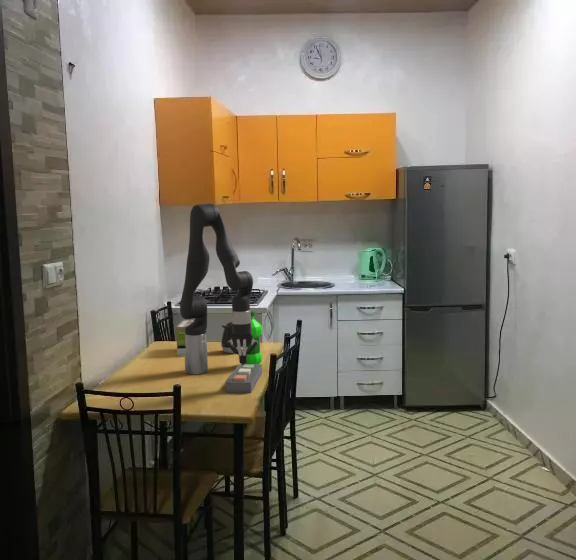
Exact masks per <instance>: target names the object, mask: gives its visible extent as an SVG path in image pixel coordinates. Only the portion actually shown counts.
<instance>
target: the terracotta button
mask: <svg viewBox="0 0 576 560" xmlns="http://www.w3.org/2000/svg"><path fill="white" fill-rule="evenodd" d="M246 380H247V375H235V377H234V381H244V382H245V381H246Z"/></svg>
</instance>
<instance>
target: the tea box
mask: <svg viewBox="0 0 576 560" xmlns="http://www.w3.org/2000/svg"><path fill="white" fill-rule="evenodd" d="M194 320H195V319H192V320H191V319H187V320H181V321H180V322H179V323H178V324H177V326H175V334H176V335H175V336H176V349H177V350H176V351H177V356H180V357H181V356H184V357H185V354H184V352H185V351H186V343H185V328H186V327H187V326H188V325H190V324H191V323H192V322H193V321H194Z"/></svg>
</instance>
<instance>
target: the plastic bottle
mask: <svg viewBox="0 0 576 560" xmlns="http://www.w3.org/2000/svg"><path fill="white" fill-rule="evenodd" d="M250 314H251V334H252V336H253V339H254V340H256V341H258V343H257V345H256V346H255V348H254V349H253V350H252V352H251V353H250V354H247V362H246V363H245V364H261V363H262V360H263V354H262V351H261V341H260V340H261V337H260V336H261V335H262V334H263V326H262V324H261V323H260V322H259V321H258V320H257V319H255V317H256V311H255V310H250ZM251 343H252V341H251V342H250V344H249V345H248V346H247V351H248V350H249V349H250V348H251V346H252V344H251Z"/></svg>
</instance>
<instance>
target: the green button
mask: <svg viewBox="0 0 576 560" xmlns="http://www.w3.org/2000/svg"><path fill="white" fill-rule="evenodd" d="M254 367H255V365H244V366H243V368H245V369H254Z"/></svg>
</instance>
